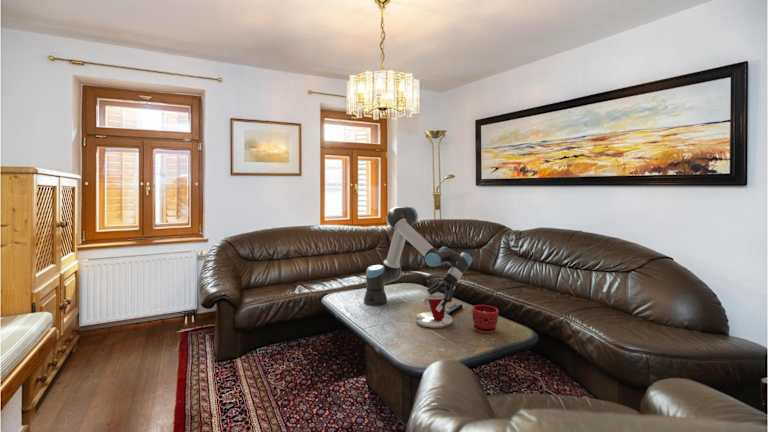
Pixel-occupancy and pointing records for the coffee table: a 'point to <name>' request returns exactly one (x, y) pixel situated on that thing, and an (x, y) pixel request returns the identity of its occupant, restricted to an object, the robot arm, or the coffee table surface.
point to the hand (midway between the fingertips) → (430, 306)
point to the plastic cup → (434, 302)
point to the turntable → (433, 320)
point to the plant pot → (485, 318)
